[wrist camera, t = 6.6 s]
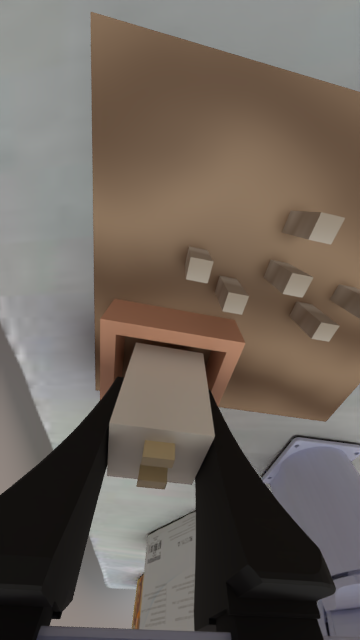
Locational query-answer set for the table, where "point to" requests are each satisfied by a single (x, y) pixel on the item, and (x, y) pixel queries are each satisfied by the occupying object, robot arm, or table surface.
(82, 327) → the table surface
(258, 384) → the board
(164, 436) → the connector plug
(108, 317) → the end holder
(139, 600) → the candy box
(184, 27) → the table surface
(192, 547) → the hard drive box
